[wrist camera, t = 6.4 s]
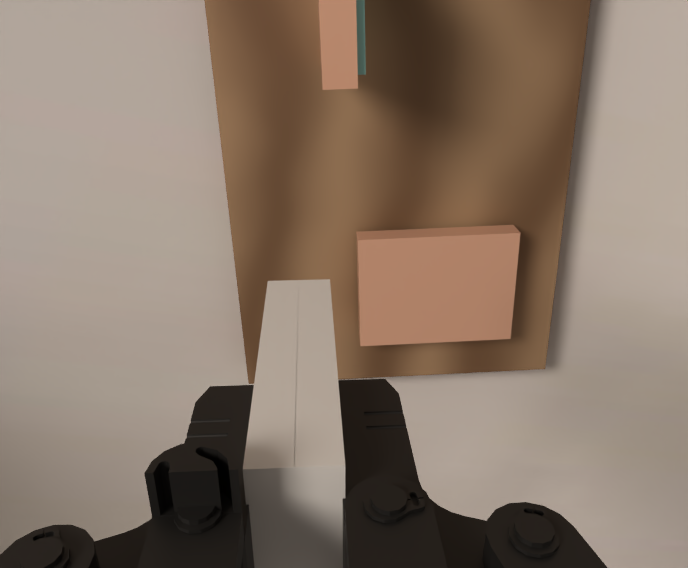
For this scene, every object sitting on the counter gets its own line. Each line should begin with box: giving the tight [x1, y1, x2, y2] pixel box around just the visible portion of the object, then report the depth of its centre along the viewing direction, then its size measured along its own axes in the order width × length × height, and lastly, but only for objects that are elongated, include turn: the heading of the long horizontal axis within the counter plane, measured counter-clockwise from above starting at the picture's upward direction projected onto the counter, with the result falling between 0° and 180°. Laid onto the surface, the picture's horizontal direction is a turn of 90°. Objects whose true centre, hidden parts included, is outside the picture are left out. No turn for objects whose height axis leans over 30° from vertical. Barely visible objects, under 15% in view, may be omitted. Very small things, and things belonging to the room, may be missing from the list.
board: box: [205, 0, 591, 384], centre depth 31 cm, size 17×26×2 cm, turn 2°
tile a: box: [356, 225, 520, 346], centre depth 32 cm, size 2×6×8 cm
